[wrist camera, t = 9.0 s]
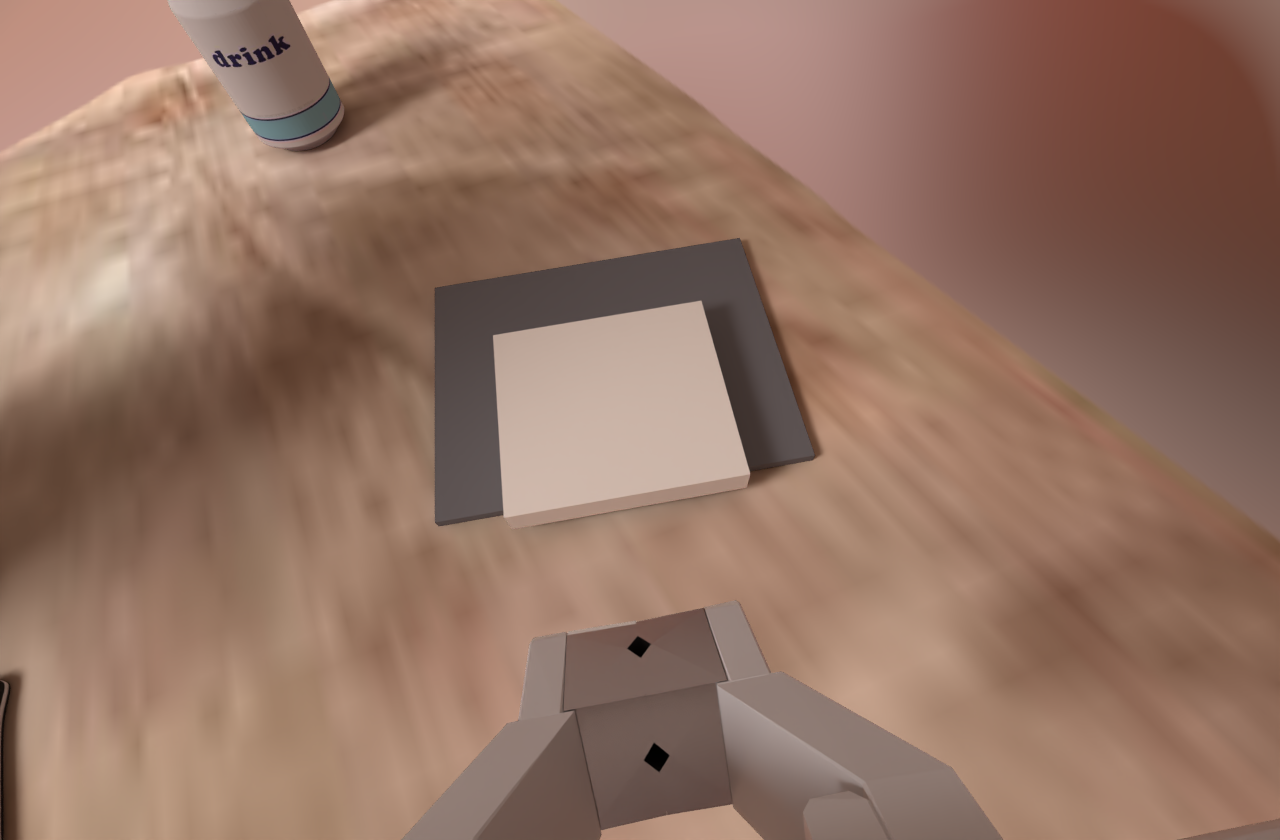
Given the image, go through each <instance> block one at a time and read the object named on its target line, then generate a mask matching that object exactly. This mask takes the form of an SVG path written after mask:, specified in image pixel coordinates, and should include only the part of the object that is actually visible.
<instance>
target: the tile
mask: <svg viewBox="0 0 1280 840" xmlns="http://www.w3.org/2000/svg"><path fill="white" fill-rule="evenodd" d="M493 344H494V361H495V378H496V395H497V412H498V429H499V445H500V462H501V479H502V496H503V513H504V519H505V520H506V522H507V523H508V524H509V526H510V527H511V528H512V529H518V528H523V527H529V526H534V525H540V524H546V523H551V522H557V521H562V520H568V519H574V518H579V517H585V516H591V515H596V514H602V513H607V512H613V511H619V510H624V509H630V508H635V507H641V506H647V505H652V504H658V503H664V502H669V501H675V500H680V499H686V498H692V497H697V496H703V495H708V494H714V493H720V492H725V491H731V490H736V489H742V488H747V485H748V481H749V477H750V471H749V468H748V464H747V461H746V457H745V453H744V450H743V446H742V443H741V439H740V436H739V432H738V429H737V425H736V422H735V418H734V415H733V411H732V407H731V404H730V400H729V397H728V393H727V390H726V386H725V383H724V379H723V376H722V372H721V368H720V365H719V361H718V358H717V354H716V351H715V347H714V344H713V340H712V337H711V333H710V330H709V326H708V322H707V319H706V315H705V312H704V308H703V305H702V301H696V302H690V303H684V304H678V305H672V306H666V307H660V308H654V309H648V310H642V311H636V312H630V313H624V314H618V315H612V316H606V317H600V318H594V319H588V320H582V321H576V322H570V323H564V324H558V325H552V326H546V327H540V328H534V329H528V330H522V331H516V332H510V333H504V334H498V335H493Z"/></svg>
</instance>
